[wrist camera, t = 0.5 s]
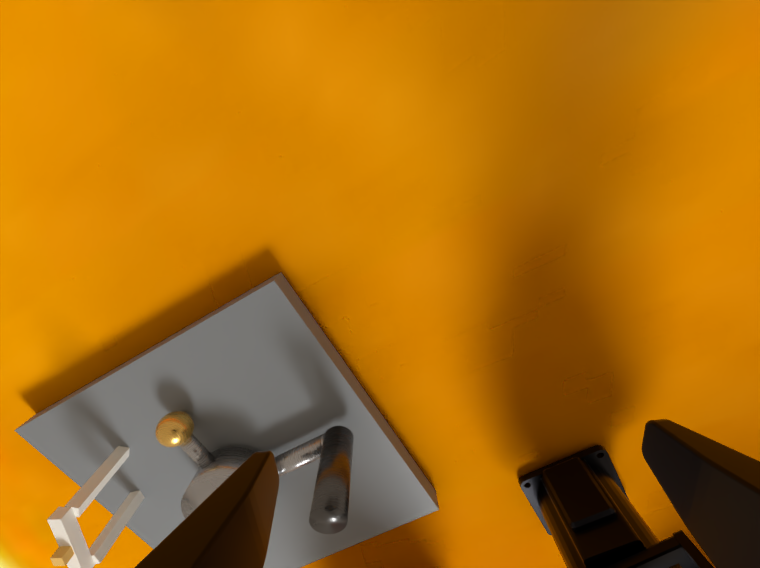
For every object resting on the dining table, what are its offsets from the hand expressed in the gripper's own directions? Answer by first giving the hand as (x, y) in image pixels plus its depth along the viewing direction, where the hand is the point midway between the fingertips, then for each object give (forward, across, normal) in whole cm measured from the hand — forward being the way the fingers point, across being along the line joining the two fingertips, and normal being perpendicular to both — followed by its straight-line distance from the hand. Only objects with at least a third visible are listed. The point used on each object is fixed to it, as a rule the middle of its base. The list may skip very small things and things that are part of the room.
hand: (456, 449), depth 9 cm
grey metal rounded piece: (+11, +10, +9) cm, 18 cm away
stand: (+13, +13, +12) cm, 22 cm away
